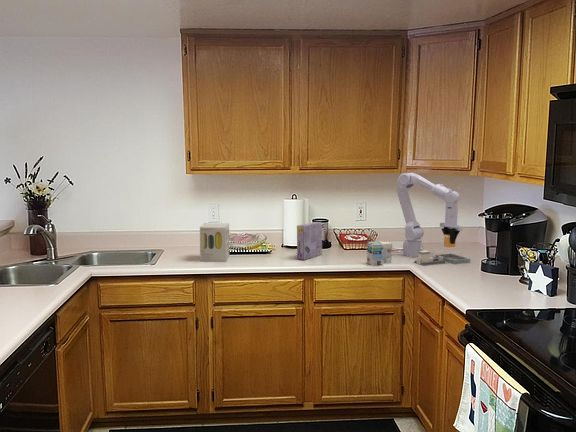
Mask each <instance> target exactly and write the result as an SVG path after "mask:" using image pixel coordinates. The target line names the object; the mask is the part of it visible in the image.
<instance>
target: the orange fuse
mask: <svg viewBox="0 0 576 432" xmlns="http://www.w3.org/2000/svg"><path fill="white" fill-rule="evenodd" d="M443 237H444V238H443V239H444V240H443V246H444V247H445V248H456V241H457V240H456V241H455V244H451V243H450V234H443Z"/></svg>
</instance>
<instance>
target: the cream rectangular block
mask: <svg viewBox="0 0 576 432" xmlns="http://www.w3.org/2000/svg"><path fill="white" fill-rule="evenodd" d="M430 257H431V251H429V250H421V251H418V257H417V258H419V259H421V263H424V262H430Z"/></svg>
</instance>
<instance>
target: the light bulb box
mask: <svg viewBox="0 0 576 432" xmlns="http://www.w3.org/2000/svg"><path fill="white" fill-rule="evenodd" d="M366 249H367V252H366V253H367V254H366V263H367V264H368V265H370V266H372V267H374V266H375V267H377V266H383V265H384V264H392V258H393V257H392V254H393V253H392V252H393V243H391V242H389V241H388V240H386V241H367V248H366Z"/></svg>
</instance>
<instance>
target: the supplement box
mask: <svg viewBox="0 0 576 432" xmlns="http://www.w3.org/2000/svg"><path fill="white" fill-rule="evenodd" d="M199 256H200V257H199V259H200V262H211V263H212V262H219V263H221V262H222V263H223V262H224V263H225V262H227V261H228V259H229V258H230V223H227V222H226V223H224V222H222V223H221V222H219V223H217V222H216V223H215V222H214V223H213V222H212V223H211V222H208V223H207V222H204V223H203V224H202V225H201V226H199Z"/></svg>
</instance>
